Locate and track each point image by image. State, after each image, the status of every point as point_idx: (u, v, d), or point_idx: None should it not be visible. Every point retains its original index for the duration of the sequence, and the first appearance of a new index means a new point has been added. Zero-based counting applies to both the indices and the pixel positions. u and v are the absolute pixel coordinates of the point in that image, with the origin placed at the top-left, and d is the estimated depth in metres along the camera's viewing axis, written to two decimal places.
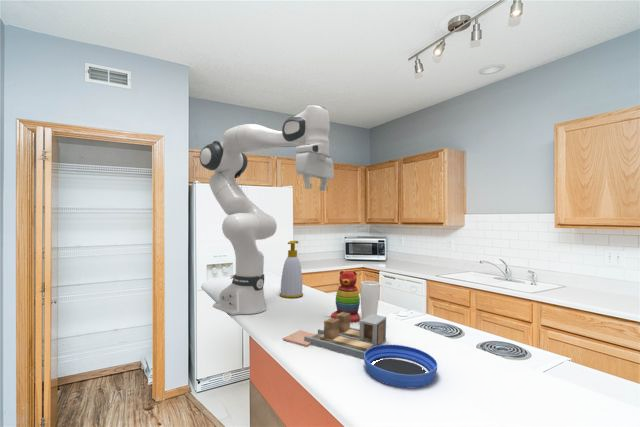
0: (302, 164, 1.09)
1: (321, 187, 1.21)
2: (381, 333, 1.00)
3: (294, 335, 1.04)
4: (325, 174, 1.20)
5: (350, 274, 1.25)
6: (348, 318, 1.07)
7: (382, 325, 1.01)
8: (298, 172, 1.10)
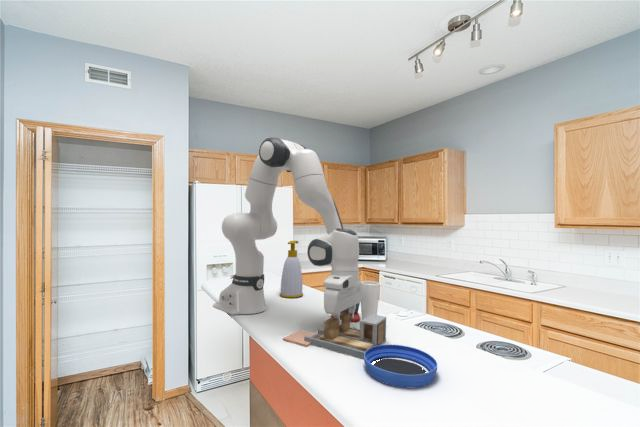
0: (332, 305, 0.98)
1: None
2: (381, 333, 1.00)
3: (294, 335, 1.04)
4: (355, 301, 1.09)
5: None
6: (348, 318, 1.07)
7: (382, 325, 1.01)
8: (327, 312, 0.99)
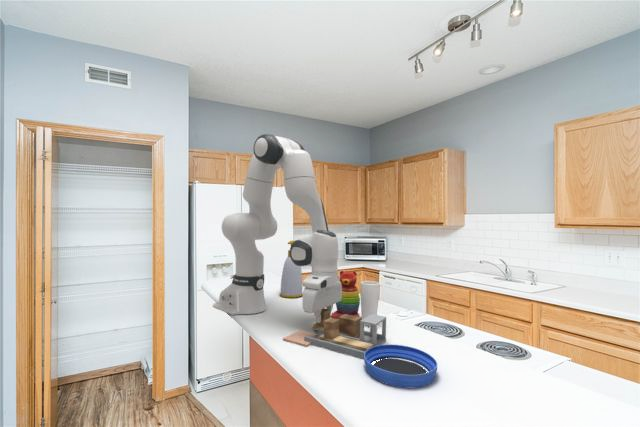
0: (310, 304, 1.02)
1: None
2: (359, 328, 1.04)
3: (294, 335, 1.04)
4: (334, 300, 1.13)
5: (350, 274, 1.25)
6: (328, 314, 1.11)
7: (360, 320, 1.05)
8: (305, 311, 1.03)
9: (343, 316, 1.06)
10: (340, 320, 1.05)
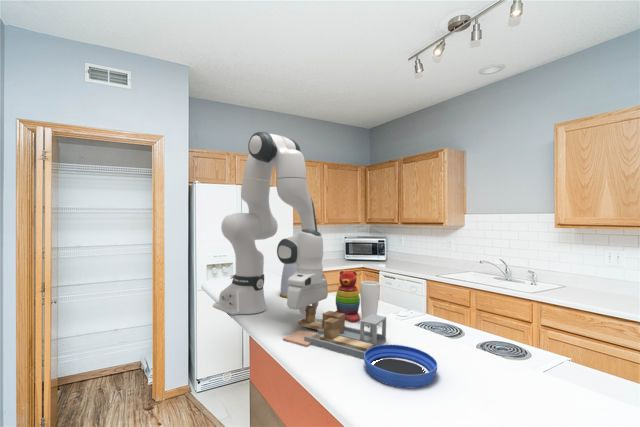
0: (294, 301, 1.05)
1: None
2: (342, 324, 1.07)
3: (294, 335, 1.04)
4: (319, 297, 1.16)
5: (350, 274, 1.25)
6: (313, 311, 1.14)
7: (343, 317, 1.08)
8: (290, 308, 1.06)
9: (327, 313, 1.09)
10: (324, 316, 1.08)
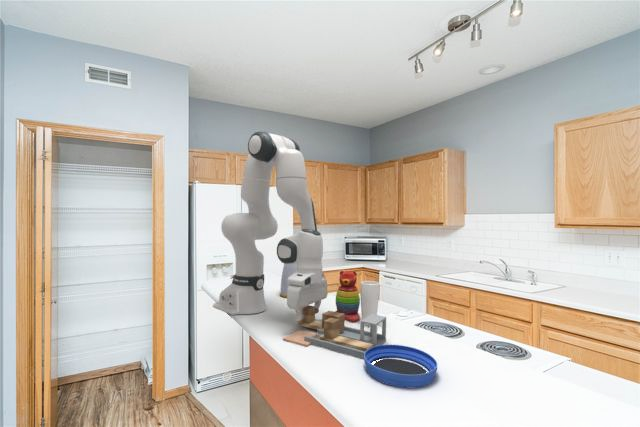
0: (294, 300, 1.05)
1: None
2: (341, 324, 1.07)
3: (294, 335, 1.04)
4: (319, 297, 1.16)
5: (350, 274, 1.25)
6: (313, 311, 1.14)
7: (343, 317, 1.08)
8: (290, 307, 1.06)
9: (327, 313, 1.09)
10: (323, 316, 1.08)
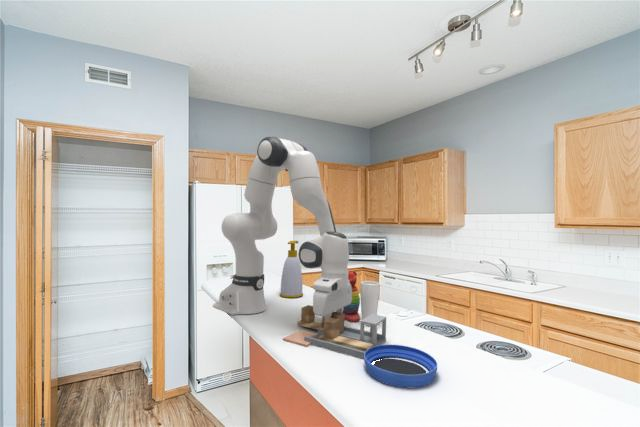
0: (321, 307, 1.00)
1: None
2: (341, 324, 1.07)
3: (294, 335, 1.04)
4: (344, 303, 1.11)
5: (350, 274, 1.25)
6: None
7: (343, 317, 1.08)
8: (316, 314, 1.01)
9: None
10: None
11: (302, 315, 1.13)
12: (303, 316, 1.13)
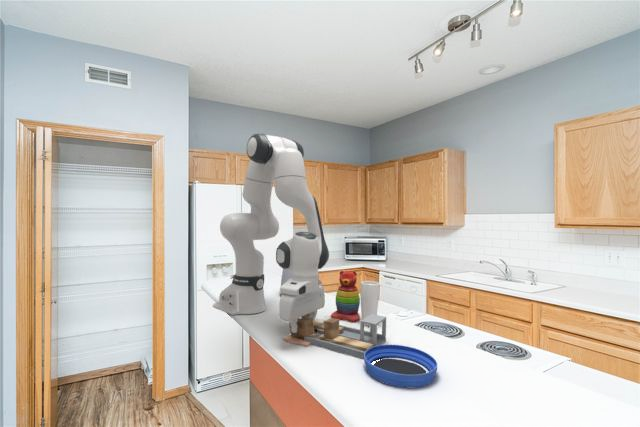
0: (287, 312, 0.94)
1: None
2: (310, 329, 1.02)
3: None
4: (315, 307, 1.06)
5: (350, 274, 1.25)
6: None
7: (310, 321, 1.03)
8: (282, 319, 0.96)
9: None
10: None
11: None
12: (303, 316, 1.13)
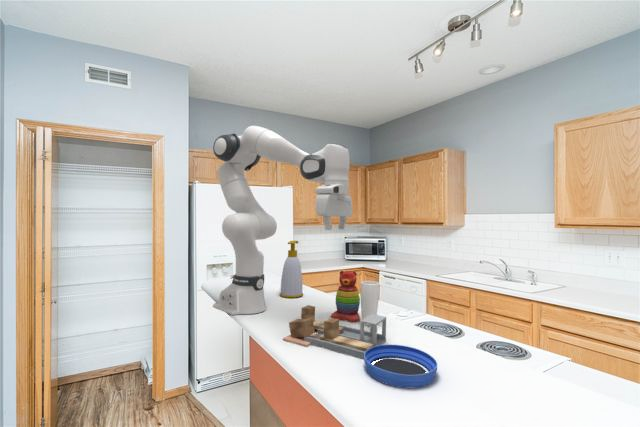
0: (323, 206, 1.06)
1: (340, 226, 1.19)
2: (310, 329, 1.02)
3: None
4: (345, 212, 1.18)
5: (350, 274, 1.25)
6: (313, 311, 1.14)
7: (310, 321, 1.03)
8: (319, 214, 1.07)
9: (294, 320, 1.05)
10: (291, 325, 1.03)
11: (302, 315, 1.13)
12: (303, 316, 1.13)
